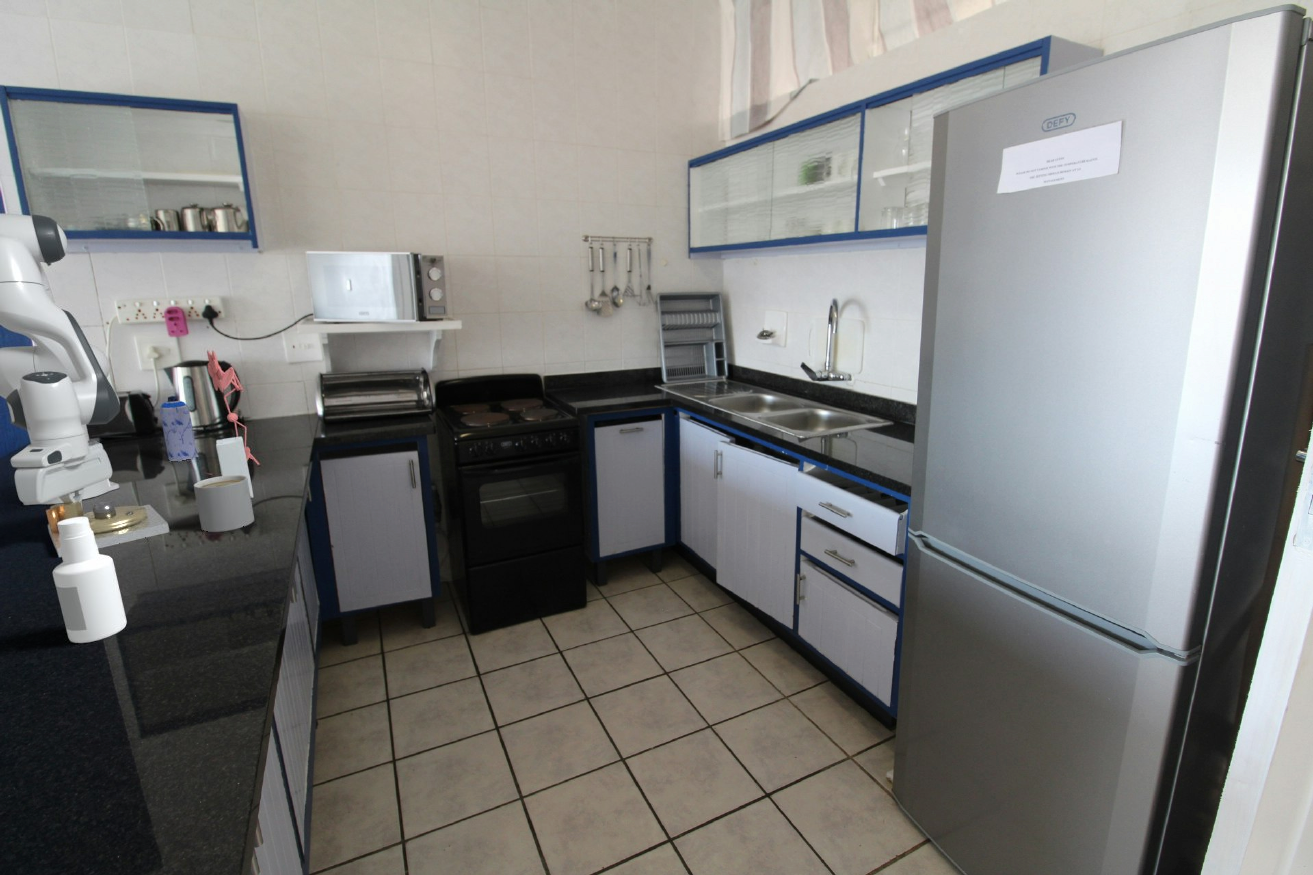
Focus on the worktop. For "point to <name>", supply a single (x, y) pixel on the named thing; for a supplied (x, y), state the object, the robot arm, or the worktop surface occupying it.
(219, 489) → the coffee mug
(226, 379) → the figurine
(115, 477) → the worktop surface
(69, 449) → the robot arm
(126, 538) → the base plate
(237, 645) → the worktop surface
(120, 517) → the flange plate
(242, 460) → the skincare box
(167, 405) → the aerosol can
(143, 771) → the worktop surface
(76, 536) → the white bottle
